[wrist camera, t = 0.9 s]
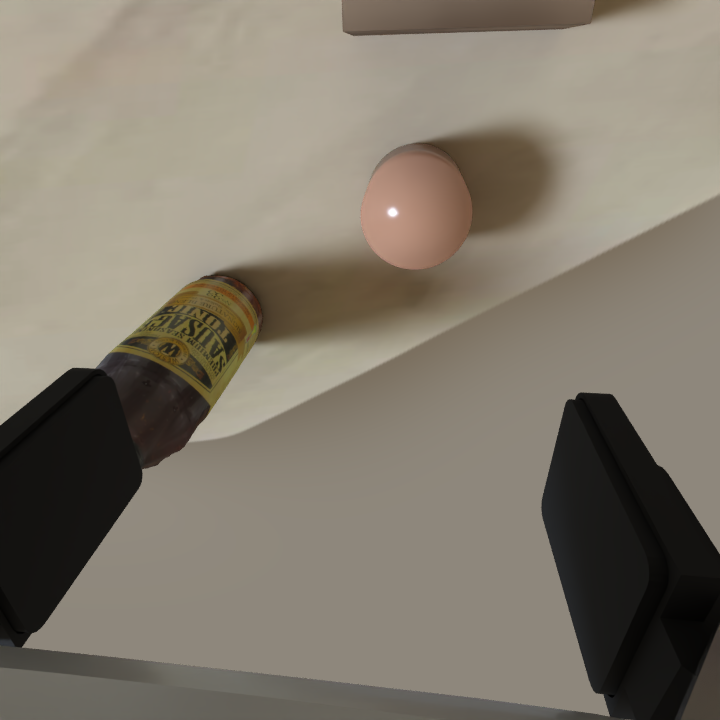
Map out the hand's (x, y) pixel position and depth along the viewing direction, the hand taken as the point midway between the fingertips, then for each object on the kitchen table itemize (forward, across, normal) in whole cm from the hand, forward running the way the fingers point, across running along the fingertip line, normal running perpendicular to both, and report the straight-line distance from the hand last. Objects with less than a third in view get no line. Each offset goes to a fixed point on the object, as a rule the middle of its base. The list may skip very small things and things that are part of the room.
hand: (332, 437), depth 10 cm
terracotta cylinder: (+24, -2, 0) cm, 24 cm away
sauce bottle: (+24, +12, +8) cm, 28 cm away
